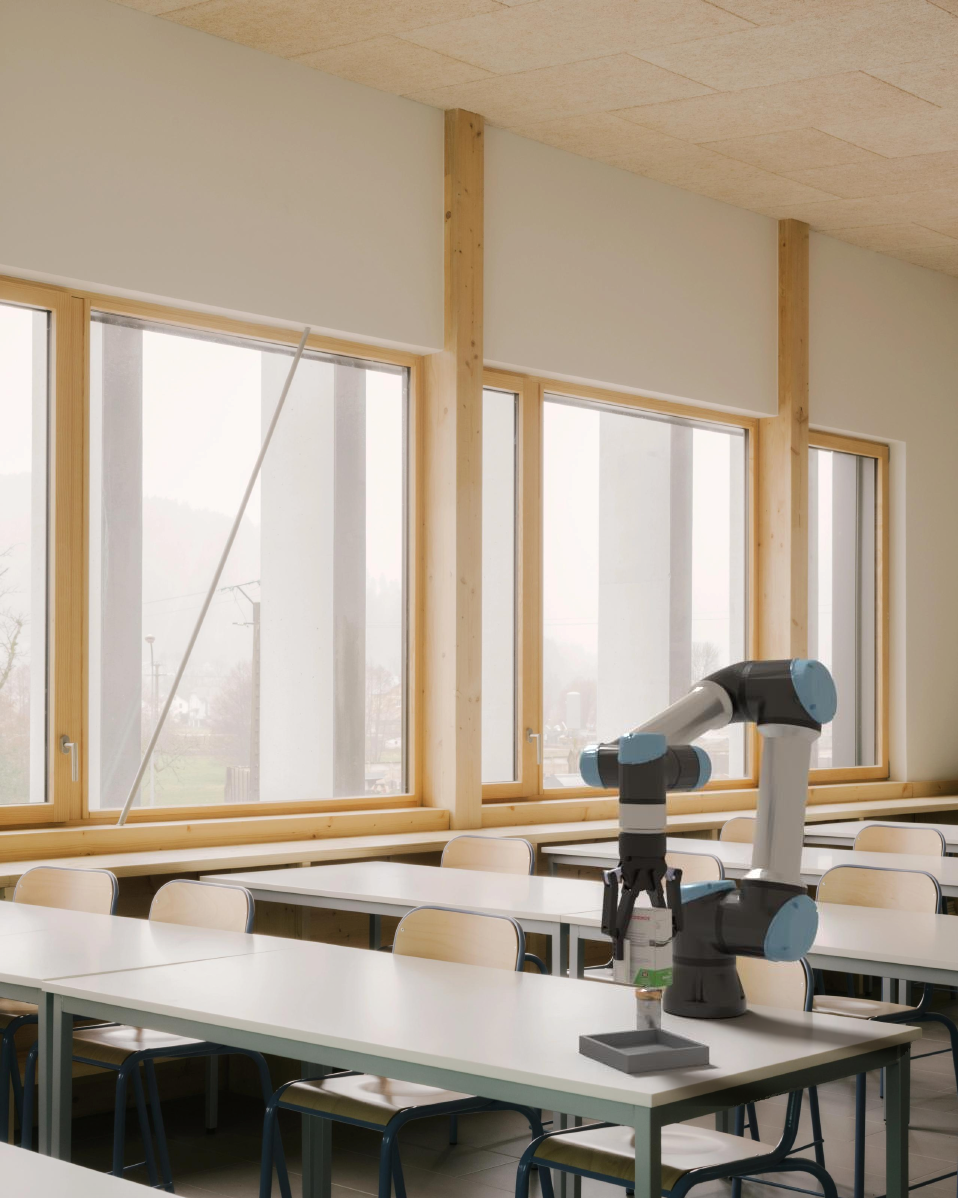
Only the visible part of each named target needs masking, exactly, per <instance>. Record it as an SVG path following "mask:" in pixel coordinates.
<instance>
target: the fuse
mask: <svg viewBox="0 0 958 1198" xmlns="http://www.w3.org/2000/svg"><path fill="white" fill-rule="evenodd" d="M634 990H635V993H634V994H635V995H634V997H635V998H636V1030H640V1029H650V1028H660V1029H662V999H663V989H662V988H660V987H657V988H656V987H649V986H642V987H637V988H635V989H634Z"/></svg>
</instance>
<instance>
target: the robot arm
mask: <svg viewBox="0 0 958 1198" xmlns="http://www.w3.org/2000/svg"><path fill="white" fill-rule="evenodd" d="M837 707H838V695H837V689H836V685H835V682H834V679H833V677H832V675H831V672H830V671H829V669H828V668H827V667H826V666H825V664H823V663H822V662H820V661H818V660H816V659H803V658H792V659H791V658H790V659H769V660H766V659H765V660H756V659H755V660H745V661H744V660H743V661H740V662H736V663H734V664H730V665H727V666H725V667H723V668H722V669H719V670H717V671H714V672H713V673H710V674H709V675H707V676H706V677H703V678H701V680H699V681H697V682H695V683H694V684H693V685H692V686H691V687H690V688H689V690H688V692H687V695H685V696H684V697H682V698H681V699H679V700H678V701H675V702H674V703H673V704H671V705H669V706H668V707H666V708H664V709H663V710H661V711H659V712H658V713H657V714H654V715H653V716H652V717H650V718H648V719H646V720H645V721H643V722H642V723H641V724H639V725H637V726H636V727H634V728H633V729H631V730H629V731H628V732H625V733H623V734H622V735H620V736H619V738H618V737H617V739H615V740H613V741H611V742H609V743H604V742H599V743H592V744H591V743H590V744H589V745H587V746H586V747H584V749H583V750H582V752H581V755H580V757H579V762H578V763H579V764H578V765H579V767H578V768H579V770H580V776H581V778H582V780H583V782H584V783H585V784H587V786H590V787H591V788H602V789H604V790H608V789H611V790H612V789H614V790H616V789H617V790H619V791H618V794H619V795H618V796H619V797H618V827H619V829H621V830H622V831H619V833H618V855H619V862H618V864H617V867H616V868H613V869H610V870H608V869H603V870H602V871H601V877H602V880H603V897H602V912H601V925H600V932H601V934H603V935H605V936H608V937H610V938H611V940H612V943H611V944H612V959H614V960H617V981H620V982H619V983H622V984H629V983H630V940H628V939H625V936H626V933H627V929H628V926H629V922H630V918H631V915H632V911H633V908H634V905H636V904H635V903H636V901H637V898H638V897H639V895H640V892H643V891H645V893H646V894H647V895H648V897H649V901H650V905H651V907H656V908H665V909H672V965H673V984H672V985H667V986H665V987H664V992H663V993H662V1010H663V1011H665V1012H666V1013H669V1014H674V1015H678V1016H683V1017H689V1018H690V1017H692V1018H701V1019H703V1018H704V1019H705V1018H707V1019H708V1018H709V1019H712V1018H713V1019H719V1018H720V1019H721V1018H732V1017H739V1016H742V1015H745V1014H747V1011H748V1010H747V1006H748V1005H747V1003H748V1002H747V997H746V994H745V991H744V988H743V985H742V981H741V979H740V974H739V971H738V968H737V957H743V958H750V959H758V960H764V961H765V960H766V961H769V962H773V963H779V962H783V963H784V962H785V963H794V962H797V961H800V960H801V959H803V958H804V957H805V956H806V955H807V953H808V952H809V951H810V950H811V949H812V946H813V945H814V943H815V940H816V936H817V935H818V934H817V933H818V929H819V913H818V911H817V910H818V906H817V904H816V902H815V901H814V899H813V898H812V897H810V896H809V895H808V889H809V888H808V885H807V884H806V883H805V882H804V880H803V879H802V878H801V866H802V854H803V844H804V833H805V824H806V823H805V822H806V821H805V820H806V811H807V810H806V809H807V798H808V790H809V789H808V787H809V778H810V777H809V775H810V766H811V765H810V764H811V753H812V745H813V744H814V742H815V741H817V740H818V739H819V738H820V737H821V736H822V726H823V725H826V724H828V723H830V722H831V721H833V719H834V717H835V715H836V713H837ZM740 723H741V724H742V723H756V727H755V729H756V731H757V732H758V733H759V734H760V736H761V737H762V738H763V740H762V751H761V760H760V761H761V762H760V763H761V764H760V773H759V774H760V775H759V784H758V793H757V801H756V802H757V804H756V814H755V825H754V835H753V844H752V845H753V846H752V852H751V853H752V854H751V866H750V870H749V871H748V872H747V873H745V874H744V875H743V876H742V877H741V879H740V888H739V889H738V887H737V884H736V881H735V880H733V879H732V880H731V879H724V880H723V879H722V880H710V881H709V880H707V881H706V880H705V881H700V882H699V881H698V882H690V883H689V882H688V883H681V882H682V877H683V874H684V873H683V870H682V869H681V868H676V867H671V866H668V864H667V861H666V855H667V853H668V852H667V849H668V848H667V847H668V846H667V834H666V832H664V830H665V829H667V828H668V825H667V824H668V823H667V820H668V819H667V817H668V816H667V792H687V793H689V792H692V791H697V790H701V788H703V787H705V786H706V785H707V784H708V782H709V781H710V778H711V776H712V768H713V767H712V762H711V758H710V756H709V754H708V753H707V752H706V751H705V750H704V749H703V748H702V747H700V746H697V745H691V743H693V741H695V740H697V739H698V738H700V737H701V736H702V735H704V734H706V733H707V732H709V731H710V730H713V731H716V730H717V731H718V730H720V729H724V728H725V727H726V726H728V725H731V724H740ZM663 878H664V879H665V890H664V887H663V883H662V880H663ZM621 879H622V881H623V882H622V886H621V890H620V893H621V896H620V899H619V888H620V887H619V882H621ZM664 894H666V900H665V896H664ZM618 902H619V904H618ZM618 905H619V906H618ZM617 906H618V910H617Z"/></svg>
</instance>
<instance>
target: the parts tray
mask: <svg viewBox="0 0 958 1198" xmlns="http://www.w3.org/2000/svg"><path fill="white" fill-rule="evenodd" d="M578 1053H579V1054H582V1055H584V1056H586V1057H588V1058H591V1059H593V1060H596V1061H597V1062H600V1063H603V1064H605V1065H608V1066H609V1067H612V1068H613V1069H616V1070H619V1071H621V1072H624V1073H626V1074H634V1073H643V1072H651V1071H660V1070H661V1071H662V1070H668V1069H677V1068H685V1067H686V1068H687V1067H694V1066H703V1065H710V1046H709V1045H706V1044H704V1043H700V1042H699V1041H695V1040H692V1039H690V1038H686V1037H683V1036H682V1035H678V1034H676V1033H673V1032H670V1031H667V1030H665V1029H662V1028H661V1029H660V1028H650V1029H640V1030H637V1029H632V1030H624V1031H612V1032H611V1031H609V1032H601V1033H592V1034H584V1035H579V1036H578Z"/></svg>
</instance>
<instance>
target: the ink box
mask: <svg viewBox="0 0 958 1198" xmlns="http://www.w3.org/2000/svg"><path fill="white" fill-rule="evenodd" d="M618 906H619V904H618ZM618 906H617V910H618ZM625 939H628V940H630V983H628V984H630V985H636V986H637V985H638V986H642V987H652V988H660V987H666V986H667V985H672V984H673V965H672V909H665V908H656V907H652V906H645V905H637V904H634V908H633V911H632V915H631V918H630V922H629V926H628V929H627V933H626V936H625ZM612 959H613V958H612ZM612 966H613V967H612V968H613V969H612V972H613V973H612V975H613V976H612V977H613V978H612V980H613V982H619V983H621V982H620V981H617V960H614V959H613V960H612Z"/></svg>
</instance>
